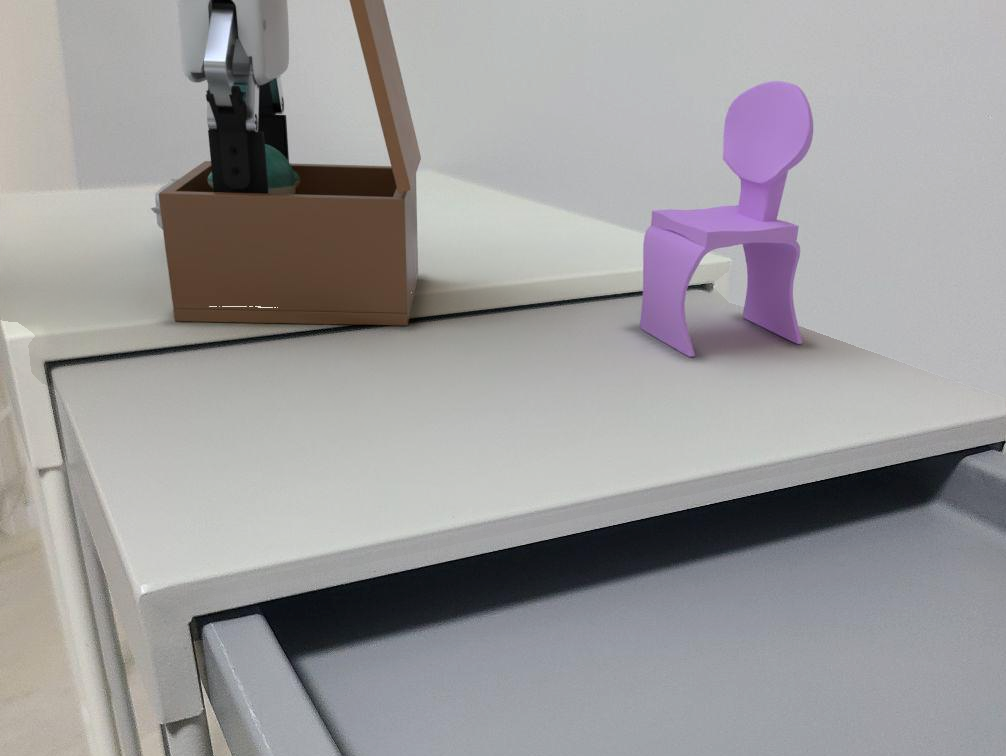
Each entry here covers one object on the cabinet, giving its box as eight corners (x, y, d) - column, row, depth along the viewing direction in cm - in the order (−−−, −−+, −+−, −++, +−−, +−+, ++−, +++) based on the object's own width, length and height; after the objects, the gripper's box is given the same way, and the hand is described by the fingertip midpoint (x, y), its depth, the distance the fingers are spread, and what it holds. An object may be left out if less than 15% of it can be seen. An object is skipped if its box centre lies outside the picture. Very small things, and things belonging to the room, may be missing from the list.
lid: (324, -100, 57) (426, -124, 57) (349, -89, 68) (435, -109, 67) (398, 193, 64) (489, 173, 64) (410, 161, 75) (488, 144, 75)
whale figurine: (214, 213, 66) (207, 148, 64) (205, 190, 72) (199, 130, 70) (309, 211, 68) (306, 148, 66) (293, 189, 74) (289, 131, 72)
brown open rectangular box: (174, 321, 67) (157, 193, 64) (216, 273, 78) (204, 160, 74) (407, 325, 68) (404, 199, 64) (418, 277, 79) (415, 166, 75)
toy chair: (625, 324, 70) (643, 75, 63) (738, 312, 73) (767, 75, 66) (691, 363, 63) (720, 90, 56) (812, 348, 67) (853, 89, 60)
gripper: (198, -125, 69) (224, 163, 77) (116, -152, 53) (159, 212, 62) (316, -119, 69) (329, 168, 77) (269, -143, 54) (291, 217, 62)
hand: (254, 185), depth 69 cm, fingers closed on whale figurine, 7 cm apart
